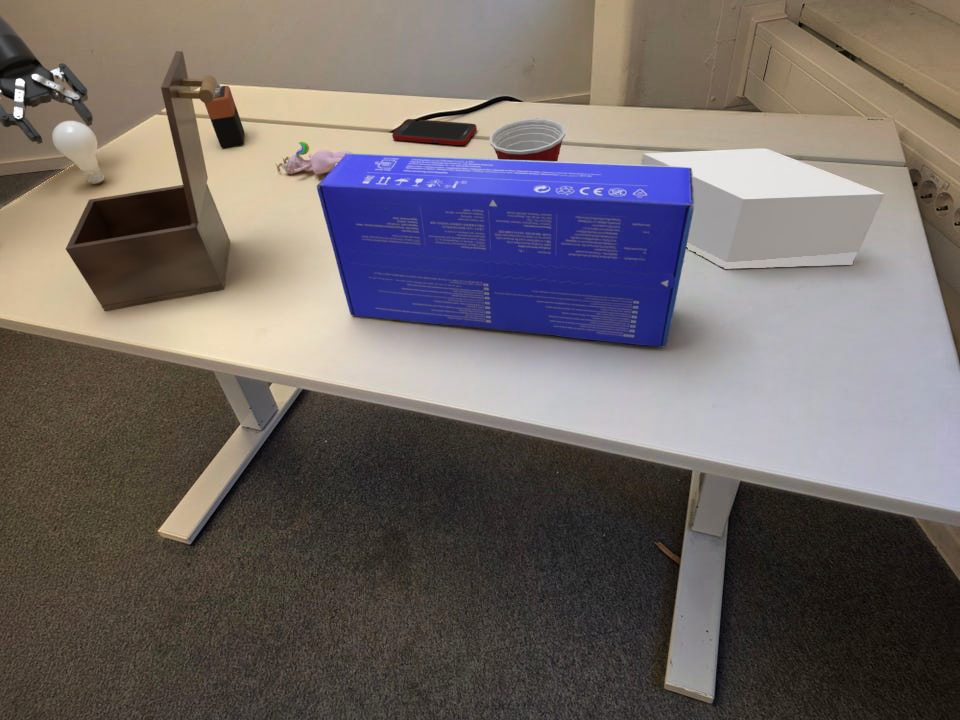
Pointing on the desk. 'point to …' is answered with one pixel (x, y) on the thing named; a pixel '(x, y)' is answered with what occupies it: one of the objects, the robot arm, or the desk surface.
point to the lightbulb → (79, 148)
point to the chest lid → (187, 128)
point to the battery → (225, 118)
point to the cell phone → (435, 132)
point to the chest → (149, 247)
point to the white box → (771, 205)
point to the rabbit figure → (312, 161)
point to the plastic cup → (528, 140)
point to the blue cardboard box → (511, 243)
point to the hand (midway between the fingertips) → (65, 131)
